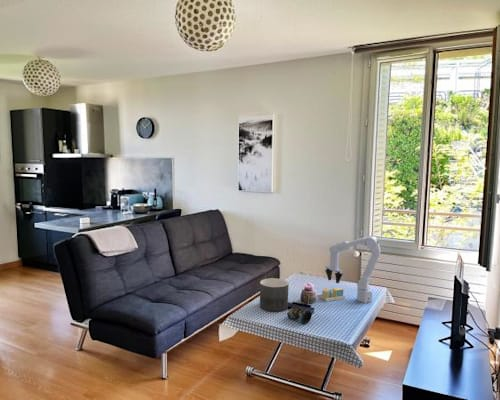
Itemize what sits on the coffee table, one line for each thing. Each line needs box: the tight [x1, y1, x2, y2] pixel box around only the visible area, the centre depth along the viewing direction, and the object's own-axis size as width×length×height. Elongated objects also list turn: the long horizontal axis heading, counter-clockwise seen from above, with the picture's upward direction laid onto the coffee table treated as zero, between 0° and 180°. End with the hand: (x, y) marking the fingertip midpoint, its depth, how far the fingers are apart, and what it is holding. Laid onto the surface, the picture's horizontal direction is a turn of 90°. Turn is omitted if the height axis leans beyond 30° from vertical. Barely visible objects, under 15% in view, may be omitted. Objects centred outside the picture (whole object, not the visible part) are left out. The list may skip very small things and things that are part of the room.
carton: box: [321, 287, 333, 301], centre depth 255 cm, size 6×4×6 cm, turn 146°
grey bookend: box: [316, 292, 346, 302], centre depth 259 cm, size 12×15×3 cm
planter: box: [259, 277, 289, 313], centre depth 242 cm, size 18×18×16 cm
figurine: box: [286, 307, 312, 325], centre depth 222 cm, size 9×8×15 cm
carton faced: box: [331, 287, 344, 297], centre depth 257 cm, size 6×4×6 cm, turn 114°
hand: (333, 281), depth 263 cm, fingers open, 7 cm apart
